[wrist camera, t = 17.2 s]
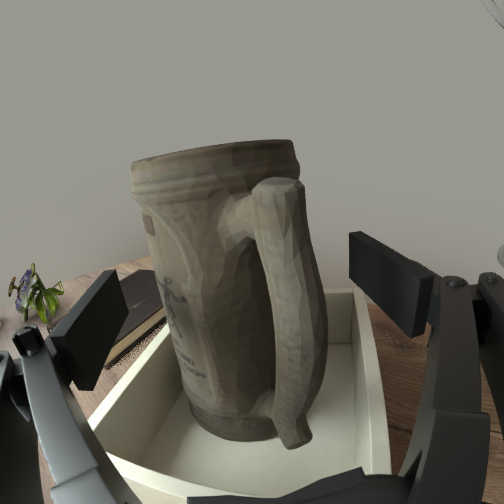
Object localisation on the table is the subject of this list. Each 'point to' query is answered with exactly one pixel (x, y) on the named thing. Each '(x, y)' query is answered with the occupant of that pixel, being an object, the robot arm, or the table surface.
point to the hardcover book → (135, 313)
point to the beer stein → (238, 285)
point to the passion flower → (28, 291)
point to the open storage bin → (257, 452)
